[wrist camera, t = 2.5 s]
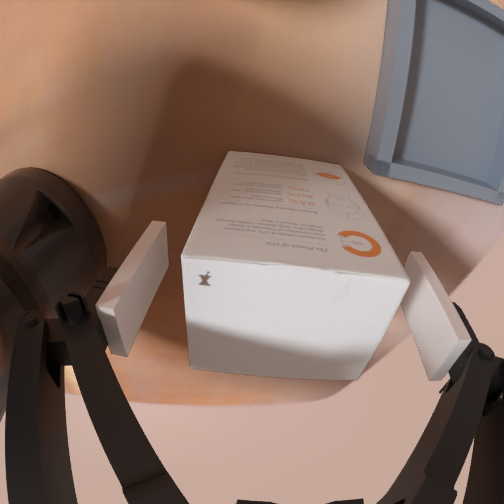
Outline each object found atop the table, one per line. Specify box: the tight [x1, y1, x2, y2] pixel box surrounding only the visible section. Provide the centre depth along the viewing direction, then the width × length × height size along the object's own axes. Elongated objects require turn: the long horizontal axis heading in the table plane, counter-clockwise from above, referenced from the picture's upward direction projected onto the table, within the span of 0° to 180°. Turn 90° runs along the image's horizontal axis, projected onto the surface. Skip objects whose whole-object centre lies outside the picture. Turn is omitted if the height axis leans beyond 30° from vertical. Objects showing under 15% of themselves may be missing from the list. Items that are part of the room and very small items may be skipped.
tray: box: [364, 0, 504, 205], centre depth 15 cm, size 12×15×2 cm
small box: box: [181, 151, 411, 380], centre depth 17 cm, size 8×6×13 cm
